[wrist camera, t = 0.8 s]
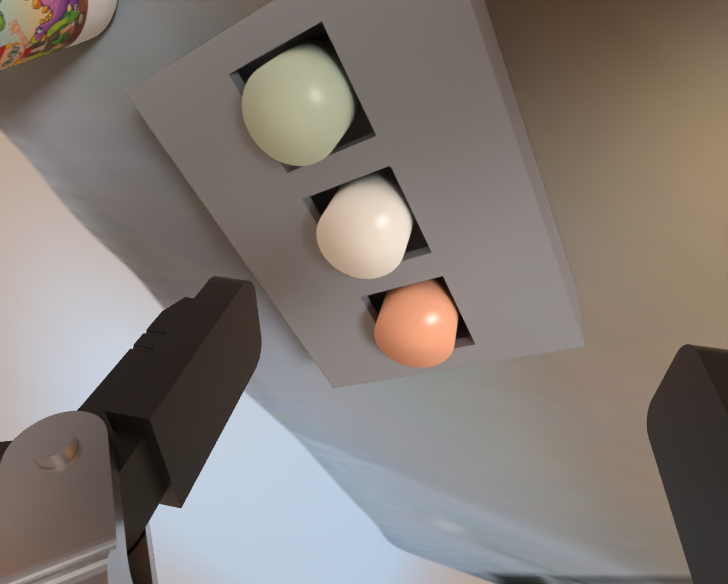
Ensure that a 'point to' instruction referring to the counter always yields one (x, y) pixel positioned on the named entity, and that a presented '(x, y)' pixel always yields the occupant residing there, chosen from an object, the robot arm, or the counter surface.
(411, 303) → the terracotta button
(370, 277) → the off-white button
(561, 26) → the counter surface
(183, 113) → the button console
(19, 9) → the milk bottle
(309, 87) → the sage button
